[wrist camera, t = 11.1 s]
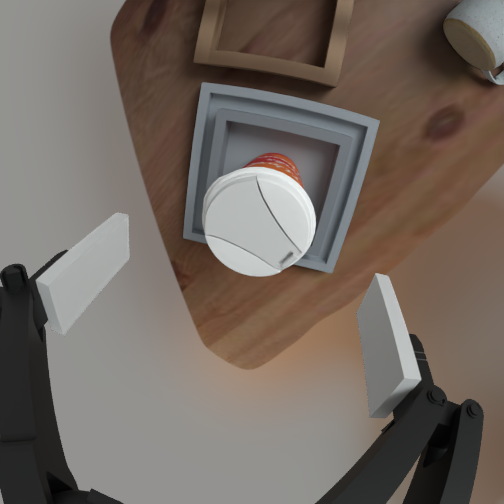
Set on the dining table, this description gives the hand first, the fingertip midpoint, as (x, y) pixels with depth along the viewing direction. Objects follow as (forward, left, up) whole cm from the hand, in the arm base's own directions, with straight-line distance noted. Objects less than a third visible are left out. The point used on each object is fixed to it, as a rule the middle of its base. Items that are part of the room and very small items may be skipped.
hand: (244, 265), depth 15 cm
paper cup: (0, 0, -19) cm, 19 cm away
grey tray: (0, 0, -19) cm, 19 cm away
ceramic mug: (-23, +19, -19) cm, 36 cm away
